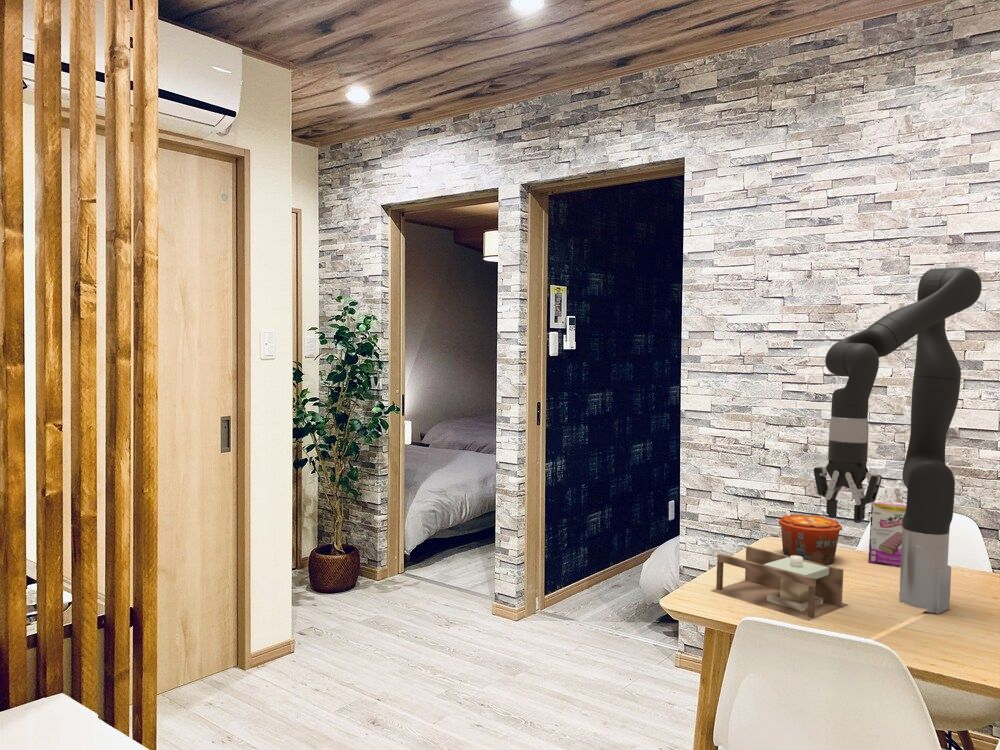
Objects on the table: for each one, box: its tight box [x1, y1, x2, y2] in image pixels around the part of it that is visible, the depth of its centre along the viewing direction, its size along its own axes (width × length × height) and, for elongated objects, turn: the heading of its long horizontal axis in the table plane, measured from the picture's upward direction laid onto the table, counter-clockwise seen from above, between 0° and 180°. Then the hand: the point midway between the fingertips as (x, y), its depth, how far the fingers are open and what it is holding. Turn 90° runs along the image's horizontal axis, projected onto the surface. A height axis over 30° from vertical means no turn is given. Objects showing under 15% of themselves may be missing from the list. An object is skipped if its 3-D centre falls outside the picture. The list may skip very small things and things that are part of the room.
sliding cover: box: [763, 555, 829, 579], centre depth 175 cm, size 10×10×4 cm
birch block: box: [780, 578, 809, 604], centre depth 176 cm, size 5×5×6 cm
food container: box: [778, 513, 843, 566], centre depth 216 cm, size 16×16×11 cm
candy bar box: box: [868, 499, 907, 567], centre depth 212 cm, size 11×5×16 cm, turn 59°
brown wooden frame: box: [711, 546, 850, 622], centre depth 179 cm, size 24×17×9 cm
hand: (844, 519), depth 167 cm, fingers open, 5 cm apart
